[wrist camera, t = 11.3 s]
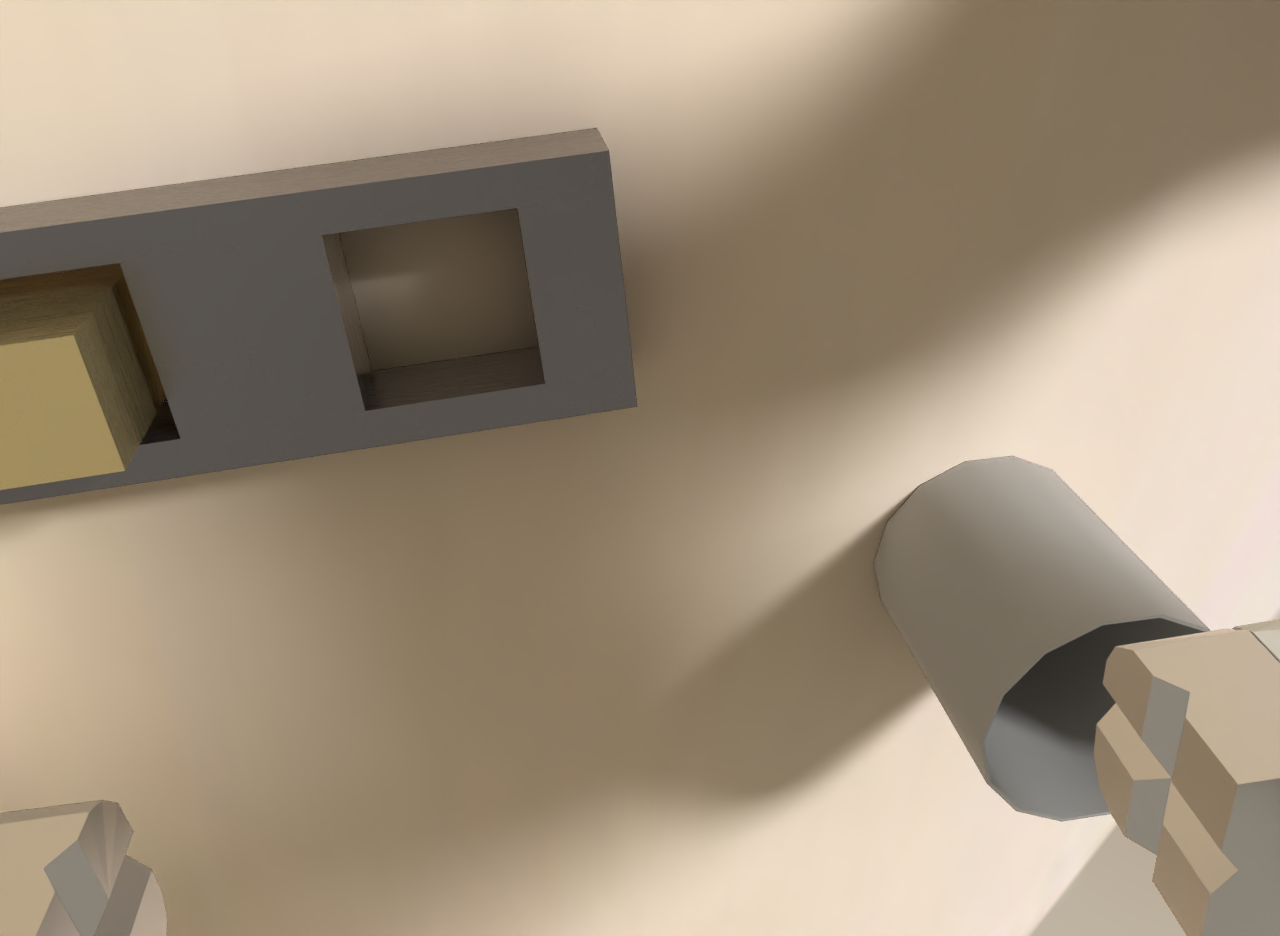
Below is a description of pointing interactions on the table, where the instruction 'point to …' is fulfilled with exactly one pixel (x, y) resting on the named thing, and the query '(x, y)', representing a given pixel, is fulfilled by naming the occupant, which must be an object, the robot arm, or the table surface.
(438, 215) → the rail
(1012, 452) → the table surface
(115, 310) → the block
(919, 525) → the cup
